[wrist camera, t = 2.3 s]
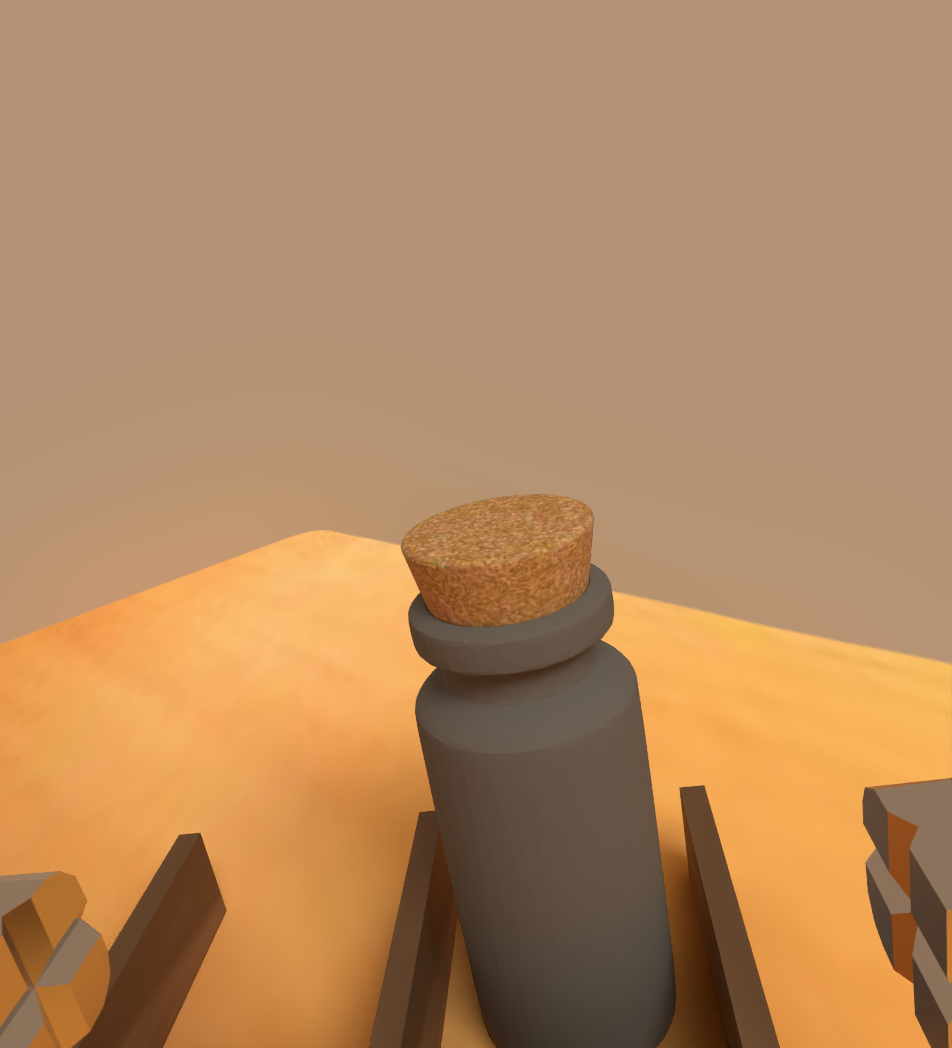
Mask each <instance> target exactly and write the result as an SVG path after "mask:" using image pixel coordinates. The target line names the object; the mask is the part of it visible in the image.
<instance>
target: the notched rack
mask: <svg viewBox="0 0 952 1048" xmlns="http://www.w3.org/2000/svg"><path fill="white" fill-rule="evenodd" d="M680 797H681V805H682V814H683V823H684V832H685V841H686V850H687V859H688V868H689V875H690V879H691V884H692V888H693V893H694V897H695V901H696V906H697V910H698V915H699V919H700V924H701V928H702V932H703V937H704V941H705V946H706V950H707V955H708V959H709V963H710V968H711V972H712V977H713V981H714V986H715V990H716V995H717V999H718V1003H719V1008H720V1012H721V1017H722V1021H723V1026H724V1030H725V1034H726V1039H727V1043H728V1048H780V1047H779V1043H778V1040H777V1036H776V1033H775V1029H774V1026H773V1022H772V1019H771V1015H770V1012H769V1008H768V1005H767V1001H766V998H765V995H764V991H763V988H762V984H761V981H760V977H759V974H758V970H757V967H756V963H755V960H754V956H753V953H752V949H751V946H750V942H749V939H748V936H747V932H746V929H745V925H744V922H743V918H742V915H741V911H740V908H739V904H738V901H737V897H736V894H735V890H734V887H733V884H732V880H731V877H730V873H729V870H728V866H727V863H726V859H725V856H724V852H723V849H722V845H721V842H720V838H719V835H718V831H717V828H716V825H715V821H714V818H713V814H712V811H711V807H710V804H709V800H708V797H707V793H706V790H705V786H704V785H703V786H692V787H681V788H680ZM225 912H226V908H225V905H224V902H223V899H222V896H221V893H220V890H219V887H218V884H217V881H216V878H215V875H214V872H213V869H212V866H211V863H210V860H209V857H208V854H207V851H206V848H205V845H204V842H203V839H202V836H201V833H194V834H183V835H179V836H178V838H177V839H176V841H175V843H174V844H173V846H172V848H171V849H170V851H169V853H168V854H167V856H166V858H165V859H164V861H163V863H162V864H161V866H160V868H159V869H158V871H157V873H156V874H155V876H154V878H153V879H152V881H151V882H150V884H149V886H148V887H147V889H146V891H145V892H144V894H143V896H142V897H141V899H140V901H139V902H138V904H137V906H136V907H135V909H134V911H133V912H132V914H131V916H130V917H129V919H128V921H127V922H126V924H125V926H124V927H123V929H122V931H121V932H120V934H119V936H118V937H117V939H116V940H115V942H114V944H113V945H112V947H111V949H110V950H109V952H108V956H109V966H110V980H109V985H108V989H107V994H106V999H105V1003H104V1007H103V1008H102V1010H101V1012H100V1014H99V1016H98V1018H97V1019H96V1021H95V1023H94V1025H93V1027H92V1029H91V1031H90V1032H89V1033H88V1034H87V1035H85V1036H84V1037H83V1038H82V1039H81V1040H79V1041H78V1042H77V1043H76V1044H75V1045H73V1046H72V1047H71V1048H162V1047H163V1045H164V1043H165V1041H166V1039H167V1037H168V1034H169V1032H170V1030H171V1028H172V1026H173V1024H174V1022H175V1019H176V1017H177V1015H178V1013H179V1011H180V1009H181V1007H182V1004H183V1002H184V1000H185V998H186V996H187V994H188V992H189V989H190V987H191V985H192V983H193V981H194V979H195V977H196V974H197V972H198V970H199V968H200V966H201V964H202V962H203V959H204V957H205V955H206V953H207V951H208V949H209V947H210V944H211V942H212V940H213V938H214V936H215V934H216V932H217V929H218V927H219V925H220V923H221V921H222V919H223V917H224V914H225ZM457 914H458V909H457V905H456V900H455V896H454V892H453V887H452V883H451V878H450V874H449V870H448V865H447V861H446V856H445V852H444V847H443V842H442V838H441V833H440V829H439V824H438V820H437V815H436V811H427V812H419V817H418V822H417V826H416V831H415V836H414V840H413V845H412V850H411V854H410V859H409V864H408V868H407V873H406V878H405V882H404V887H403V892H402V896H401V901H400V906H399V911H398V915H397V920H396V925H395V929H394V934H393V939H392V943H391V948H390V953H389V957H388V962H387V967H386V971H385V976H384V981H383V985H382V990H381V995H380V999H379V1004H378V1009H377V1013H376V1018H375V1023H374V1027H373V1032H372V1037H371V1041H370V1046H369V1048H441V1040H442V1033H443V1025H444V1017H445V1009H446V1001H447V993H448V985H449V977H450V969H451V961H452V954H453V946H454V938H455V930H456V922H457Z"/></svg>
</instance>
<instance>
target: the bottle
mask: <svg viewBox="0 0 952 1048" xmlns="http://www.w3.org/2000/svg"><path fill="white" fill-rule="evenodd" d="M593 523H594V517H593V513H592V511H591V509H590V508H589V507H588V506H587V505H585V504H584V503H583V502H580V501H578V500H575V499H572V498H568V497H562V496H555V495H545V494H535V495H514V496H505V497H498V498H492V499H487V500H481V501H477V502H472V503H469V504H465V505H461V506H458V507H454V508H452V509H449V510H446V511H444V512H441V513H439V514H436V515H434V516H432V517H430V518H428V519H426V520H424V521H423V522H421V523H419V524H418V525H416V526H415V527H414V528H412V529H411V530H410V531H409V532H408V533H407V534H406V536H405V537H404V539H403V541H402V545H401V549H402V553H403V555H404V557H405V559H406V562H407V564H408V566H409V568H410V570H411V573H412V575H413V577H414V579H415V582H416V584H417V586H418V588H419V590H420V593H419V594H418V595H417V597H416V598H415V599H414V600H413V602H412V604H411V606H410V608H409V612H408V617H409V626H410V631H411V635H412V639H413V643H414V646H415V649H416V651H417V652H418V654H419V655H420V657H422V658H423V659H424V660H425V661H427V662H428V663H429V664H431V665H433V666H435V667H437V668H436V669H435V670H434V671H433V672H432V673H431V674H430V676H429V677H428V678H427V679H426V681H425V682H424V684H423V685H422V687H421V689H420V691H419V693H418V696H417V699H416V707H415V715H416V721H417V727H418V732H419V737H420V741H421V746H422V751H423V755H424V760H425V765H426V770H427V774H428V779H429V783H430V788H431V793H432V797H433V802H434V806H435V811H436V815H437V820H438V824H439V829H440V833H441V838H442V842H443V847H444V852H445V856H446V861H447V865H448V870H449V874H450V878H451V883H452V887H453V892H454V896H455V900H456V905H457V909H458V913H459V918H460V922H461V926H462V931H463V935H464V939H465V944H466V948H467V953H468V957H469V961H470V966H471V970H472V974H473V979H474V983H475V987H476V991H477V995H478V999H479V1003H480V1007H481V1011H482V1015H483V1018H484V1021H485V1024H486V1027H487V1030H488V1032H489V1035H490V1036H491V1038H492V1040H493V1041H494V1043H495V1044H496V1045H497V1047H498V1048H656V1047H657V1046H658V1045H659V1043H660V1042H661V1041H662V1040H663V1038H664V1037H665V1034H666V1032H667V1030H668V1028H669V1026H670V1024H671V1021H672V1018H673V1014H674V1008H675V1001H676V989H675V974H674V961H673V953H672V945H671V937H670V929H669V920H668V912H667V904H666V896H665V888H664V879H663V871H662V863H661V855H660V847H659V838H658V830H657V822H656V814H655V806H654V798H653V791H652V783H651V776H650V768H649V760H648V753H647V745H646V738H645V730H644V723H643V716H642V710H641V703H640V696H639V689H638V683H637V676H636V673H635V671H634V668H633V667H632V665H631V663H630V661H629V660H628V659H627V658H626V657H625V656H624V655H623V654H622V653H621V652H619V651H618V650H617V649H616V648H614V647H613V646H611V645H610V644H608V643H606V642H604V641H602V640H600V639H601V638H603V636H604V635H605V634H606V632H607V631H608V630H609V628H610V627H611V625H612V622H613V617H614V602H613V595H612V589H611V584H610V581H609V579H608V577H607V575H606V574H605V573H604V572H603V571H602V570H601V569H599V568H598V567H596V566H595V565H593V564H591V563H590V561H591V560H590V559H591V548H592V536H593Z"/></svg>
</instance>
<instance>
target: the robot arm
mask: <svg viewBox="0 0 952 1048" xmlns="http://www.w3.org/2000/svg"><path fill="white" fill-rule="evenodd" d="M862 802H863V824H864V826H865V828H866V830H867V831H868V833H869V835H870V837H871V839H872V841H873V843H874V845H875V847H876V849H875V851H874V852H873V853H872V855H871V856H870V857H869V858H868V860H867V861H866V862H865V863H866V874H867V886H868V894H869V898H870V903H871V908H872V912H873V917H874V921H875V925H876V927H877V930H878V933H879V936H880V938H881V941H882V944H883V947H884V949H885V951H886V953H887V956H888V958H889V960H890V962H891V964H892V966H893V969H894V970H895V971H896V972H897V973H899V974H900V975H902V976H903V977H904V978H906V979H907V980H909V981H910V982H912V983H913V984H914V1003H915V1015H916V1017H917V1019H918V1021H919V1023H920V1026H921V1028H922V1030H923V1032H924V1034H925V1036H926V1038H927V1040H928V1042H929V1044H930V1046H931V1048H952V778H946V779H937V780H928V781H919V782H910V783H901V784H892V785H882V786H873V787H865V790H864V796H863V801H862ZM86 902H87V900H86V897H85V895H84V893H83V891H82V889H81V887H80V885H79V883H78V881H77V879H76V877H75V876H73V875H70V874H67V873H64V872H61V871H59V872H46V873H34V874H21V875H9V876H0V1048H71V1047H72V1046H73V1045H75V1044H76V1043H77V1042H78V1041H79V1040H81V1039H82V1038H83V1037H84V1036H85V1035H87V1034H88V1033H89V1032H90V1031H91V1029H92V1027H93V1025H94V1023H95V1021H96V1019H97V1018H98V1016H99V1014H100V1012H101V1010H102V1008H103V1007H104V1003H105V999H106V994H107V989H108V985H109V980H110V966H109V956H108V951H107V948H106V946H105V943H104V941H103V938H102V936H101V934H100V933H99V932H98V931H96V930H95V929H94V928H93V927H91V926H90V925H89V924H87V923H86V922H85V921H83V920H82V919H81V916H82V914H83V911H84V908H85V905H86Z"/></svg>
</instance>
